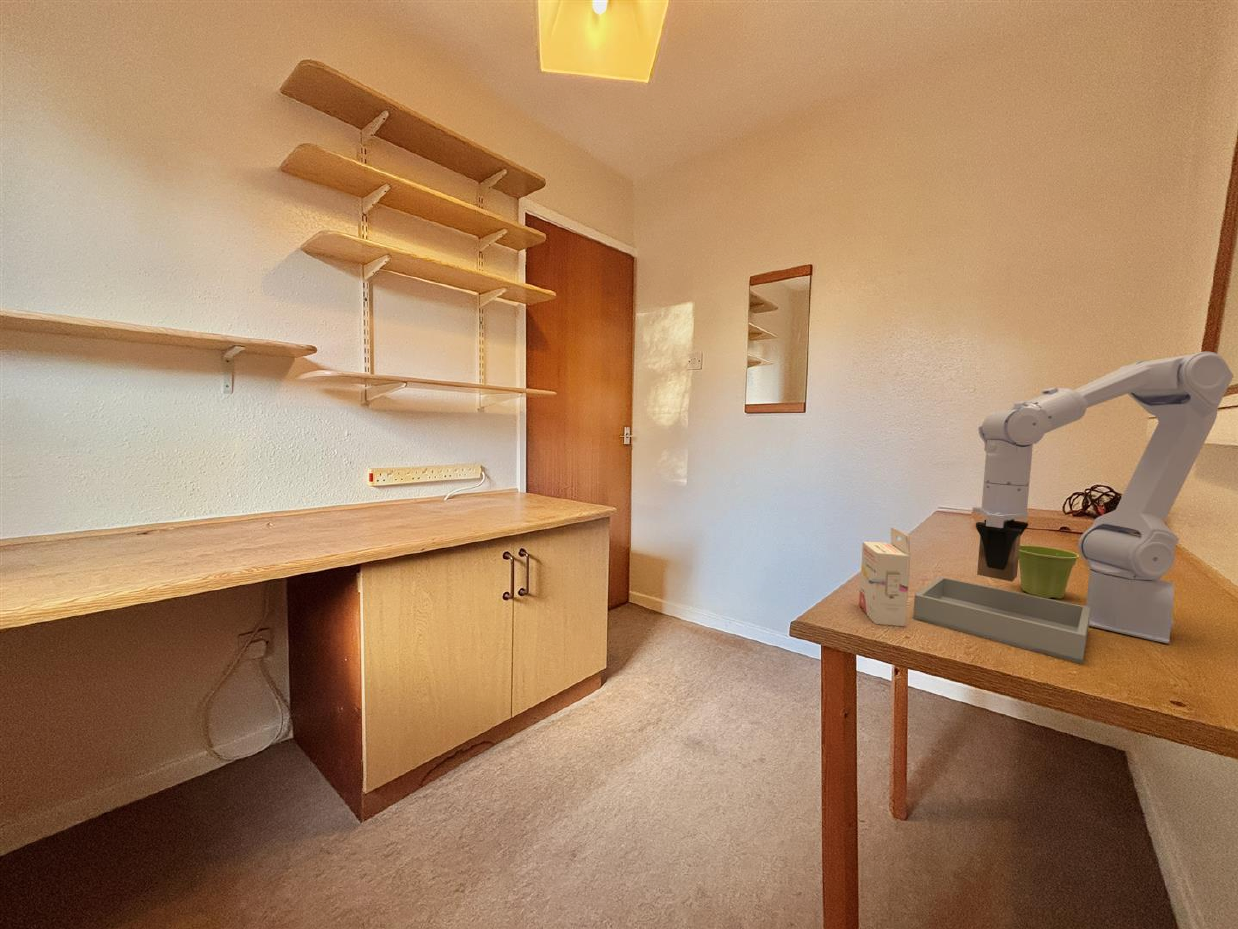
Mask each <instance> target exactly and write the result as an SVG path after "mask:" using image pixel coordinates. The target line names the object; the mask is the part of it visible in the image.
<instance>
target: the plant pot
mask: <svg viewBox="0 0 1238 929" xmlns="http://www.w3.org/2000/svg"><path fill="white" fill-rule="evenodd" d="M1080 557H1081V555H1080V554H1078V553H1076V552H1073V551H1070V550H1065V549H1062V548H1061V549H1060V548H1054V547H1048V546H1043V545H1042V546H1041V545H1033V544H1030V545H1028V544H1027V545H1026V544H1022V545H1021V544H1020V548H1019V559H1018V567H1019V572H1020V573H1019V574H1020V575H1019V576H1020V585H1021V591H1022V592H1026V594H1028V595H1032V596H1037V597H1042V598H1047V599H1051V598H1055V599H1058V600H1060V599H1063V598H1064V597H1065V593H1066V590H1067V586H1068V582H1069V579H1070V575H1071V574H1072V573H1071V572H1072V569H1073V567H1074V566H1075V565H1076V563H1077V560H1079V559H1080Z"/></svg>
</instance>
